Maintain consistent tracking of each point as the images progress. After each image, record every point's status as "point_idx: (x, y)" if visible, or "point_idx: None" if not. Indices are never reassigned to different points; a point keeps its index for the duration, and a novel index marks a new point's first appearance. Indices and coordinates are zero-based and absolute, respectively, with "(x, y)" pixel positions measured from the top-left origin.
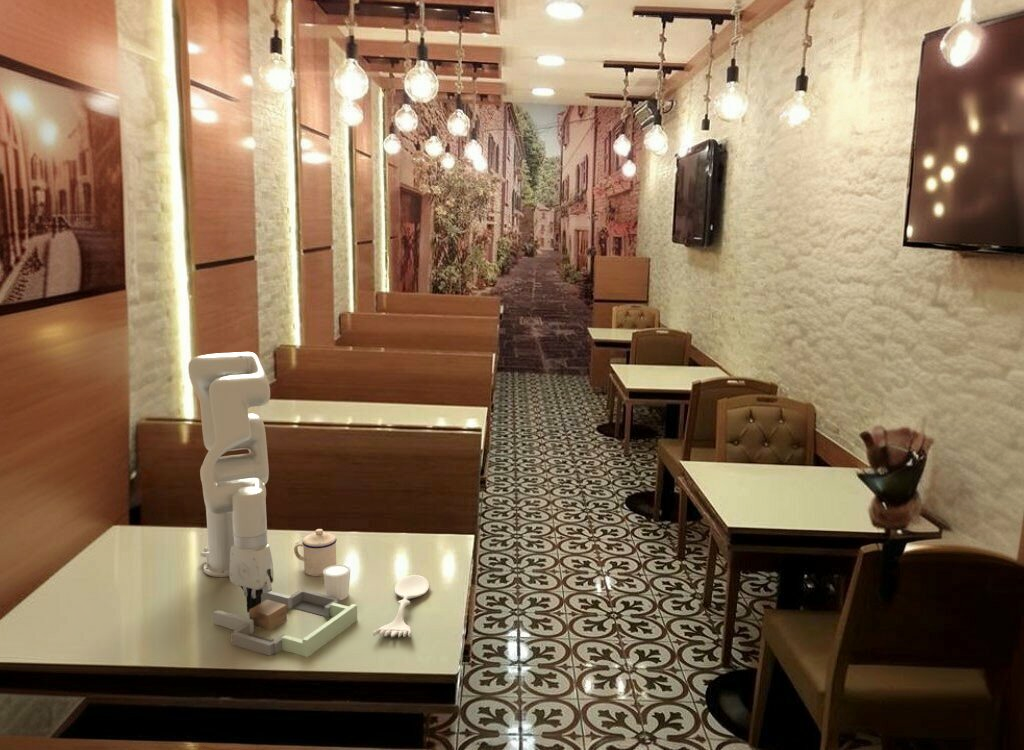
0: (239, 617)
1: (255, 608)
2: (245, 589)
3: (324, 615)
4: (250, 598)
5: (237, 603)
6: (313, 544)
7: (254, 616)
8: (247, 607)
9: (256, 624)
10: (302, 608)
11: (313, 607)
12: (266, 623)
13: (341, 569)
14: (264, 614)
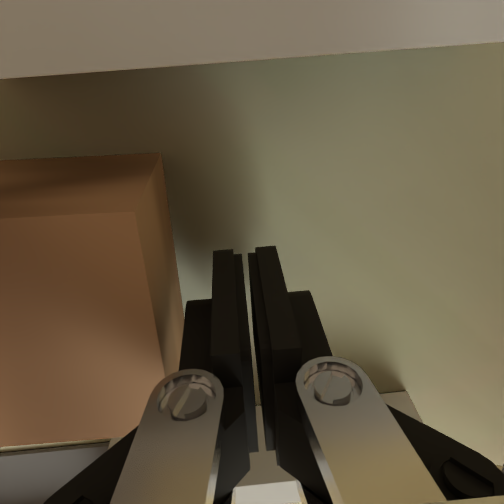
0: (131, 33)
1: (97, 269)
2: (353, 451)
3: None
4: (225, 354)
5: (492, 320)
6: None
7: (65, 189)
8: (274, 270)
9: (68, 162)
10: (51, 461)
11: (11, 491)
12: None
13: None
14: None
